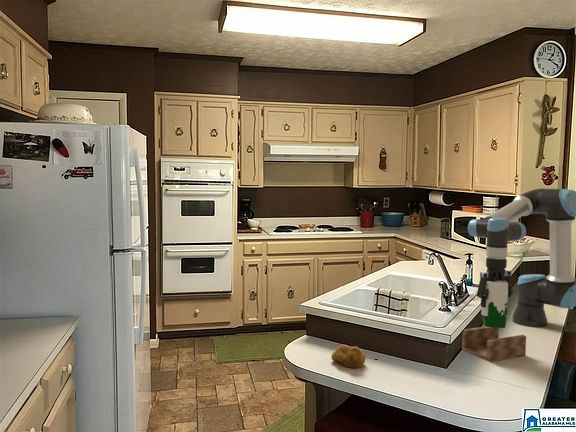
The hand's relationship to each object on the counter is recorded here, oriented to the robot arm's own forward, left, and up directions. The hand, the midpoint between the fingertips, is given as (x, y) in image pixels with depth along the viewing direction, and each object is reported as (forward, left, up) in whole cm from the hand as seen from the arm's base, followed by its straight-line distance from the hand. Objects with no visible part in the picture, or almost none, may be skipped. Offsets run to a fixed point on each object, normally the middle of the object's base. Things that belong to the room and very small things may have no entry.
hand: (493, 313), depth 197 cm
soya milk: (0, 0, -5) cm, 5 cm away
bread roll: (+60, -10, -16) cm, 63 cm away
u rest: (0, 0, -15) cm, 15 cm away
